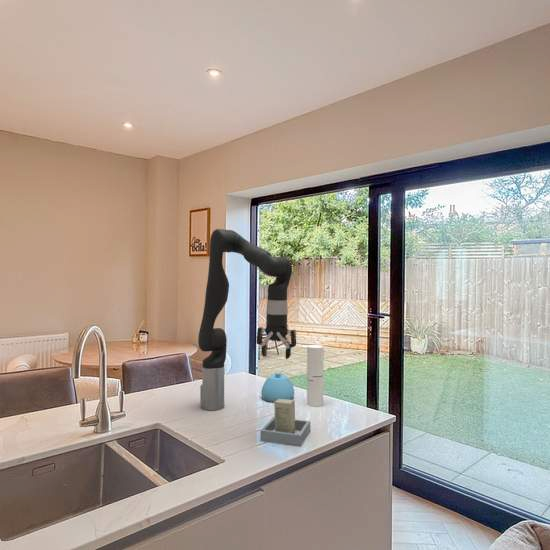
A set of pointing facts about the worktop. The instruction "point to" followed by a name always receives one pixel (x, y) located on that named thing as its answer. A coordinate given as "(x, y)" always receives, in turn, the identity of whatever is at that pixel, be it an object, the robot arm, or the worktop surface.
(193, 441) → the worktop surface
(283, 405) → the skincare box
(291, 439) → the box
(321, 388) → the cylindrical container
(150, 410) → the worktop surface
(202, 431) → the worktop surface
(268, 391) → the sugar bowl
